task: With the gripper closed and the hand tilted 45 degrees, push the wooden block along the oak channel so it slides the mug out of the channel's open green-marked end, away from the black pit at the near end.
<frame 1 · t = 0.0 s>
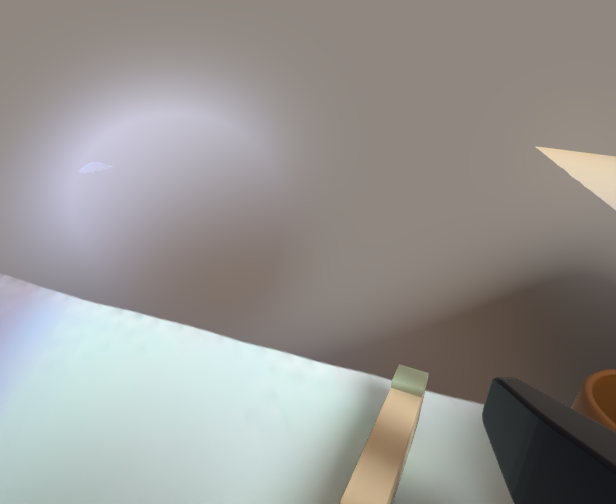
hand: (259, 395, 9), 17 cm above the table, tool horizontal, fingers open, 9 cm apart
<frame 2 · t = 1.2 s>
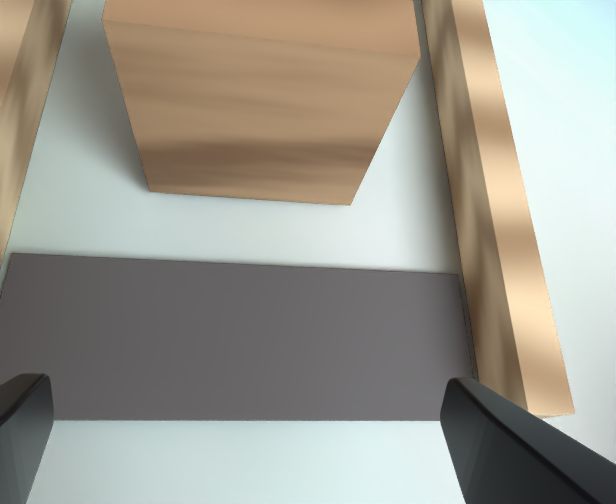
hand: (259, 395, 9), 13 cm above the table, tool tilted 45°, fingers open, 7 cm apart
channel: (254, 147, 26), on the table
pit: (246, 339, 22), on the table
wooden block: (260, 89, 21), point 6 cm above the table, slide at 0.0 cm
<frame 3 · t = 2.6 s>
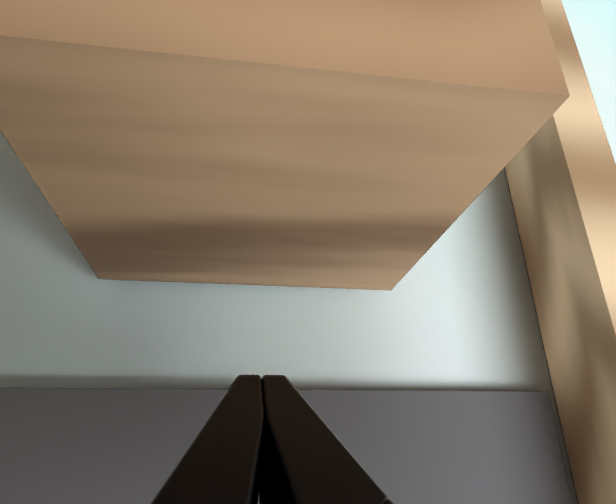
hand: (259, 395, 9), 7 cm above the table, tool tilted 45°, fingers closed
channel: (253, 204, 19), on the table
wooden block: (263, 135, 13), point 6 cm above the table, slide at 0.0 cm
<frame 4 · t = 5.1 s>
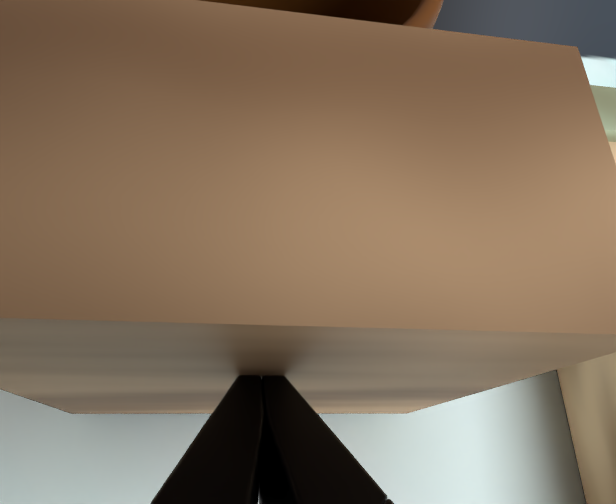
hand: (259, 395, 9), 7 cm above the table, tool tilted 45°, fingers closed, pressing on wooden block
mug: (263, 133, 20), on the table
wooden block: (260, 276, 11), point 6 cm above the table, slide at 6.5 cm, touching gripper
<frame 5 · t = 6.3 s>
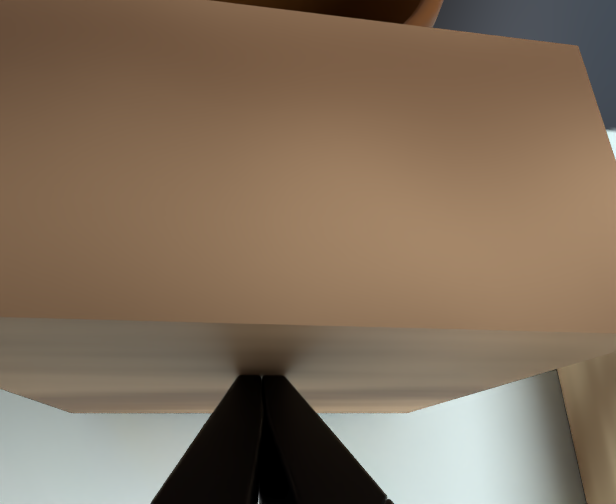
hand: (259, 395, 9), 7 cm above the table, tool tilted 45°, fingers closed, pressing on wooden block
mug: (262, 133, 20), on the table, touching wooden block
wooden block: (260, 275, 11), point 6 cm above the table, slide at 11.1 cm, touching gripper, mug
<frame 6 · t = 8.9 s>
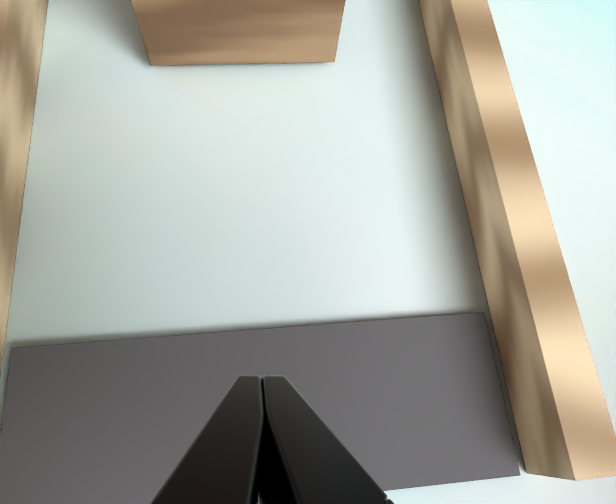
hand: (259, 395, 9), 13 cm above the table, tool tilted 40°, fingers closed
channel: (251, 193, 24), on the table
pit: (264, 411, 21), on the table
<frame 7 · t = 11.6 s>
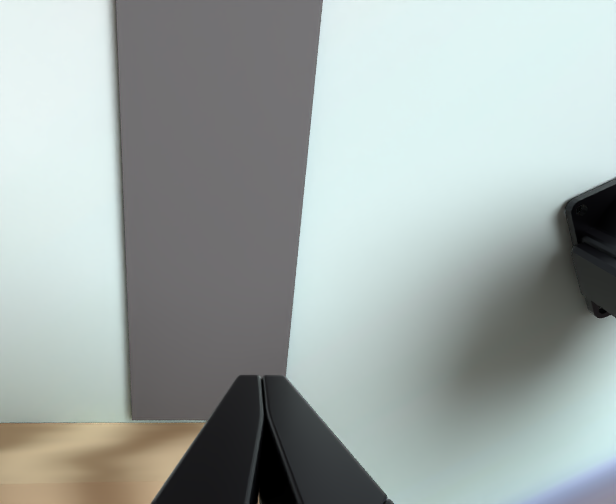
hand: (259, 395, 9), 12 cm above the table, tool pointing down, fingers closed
pit: (215, 206, 20), on the table
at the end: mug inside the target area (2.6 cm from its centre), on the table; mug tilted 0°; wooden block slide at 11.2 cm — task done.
